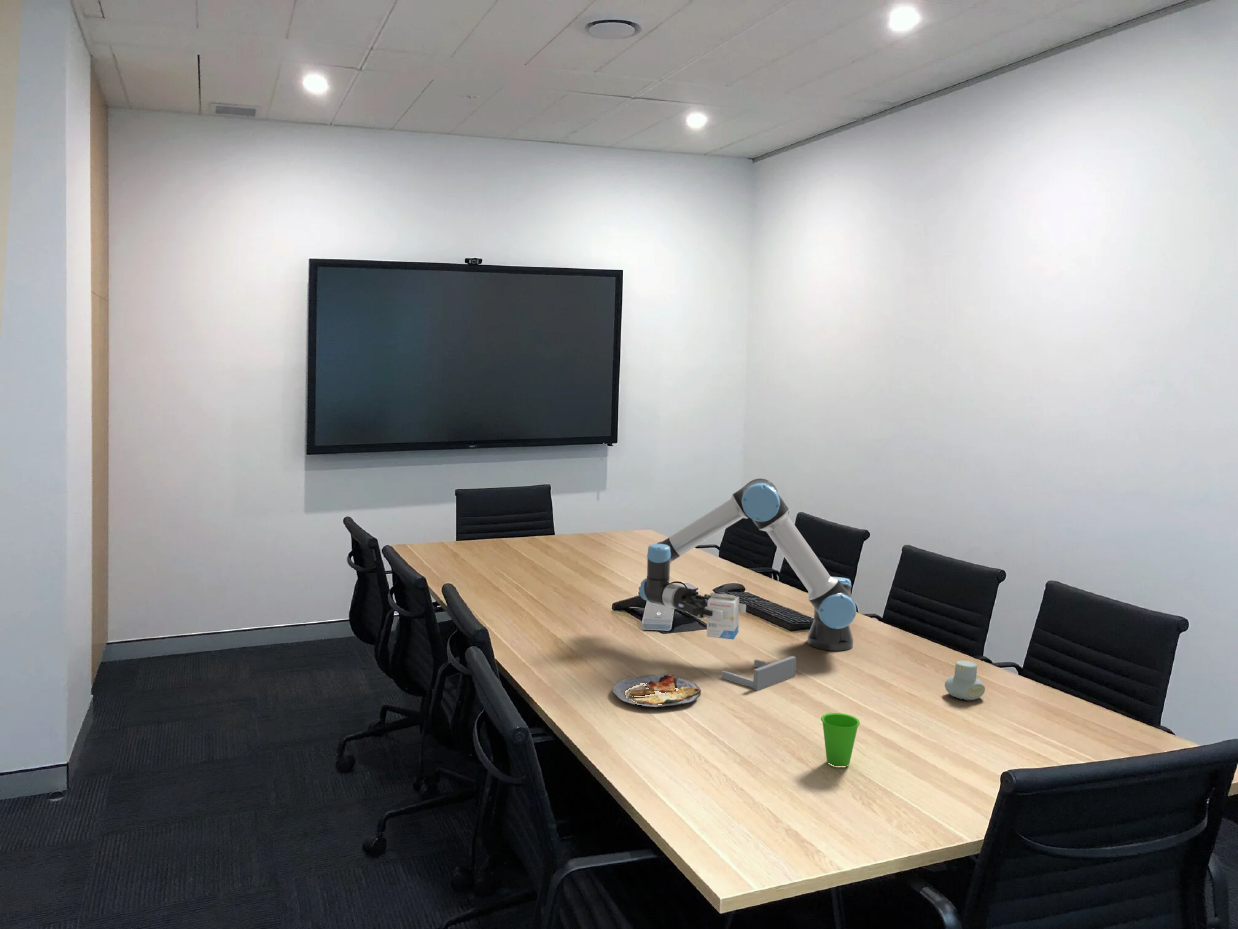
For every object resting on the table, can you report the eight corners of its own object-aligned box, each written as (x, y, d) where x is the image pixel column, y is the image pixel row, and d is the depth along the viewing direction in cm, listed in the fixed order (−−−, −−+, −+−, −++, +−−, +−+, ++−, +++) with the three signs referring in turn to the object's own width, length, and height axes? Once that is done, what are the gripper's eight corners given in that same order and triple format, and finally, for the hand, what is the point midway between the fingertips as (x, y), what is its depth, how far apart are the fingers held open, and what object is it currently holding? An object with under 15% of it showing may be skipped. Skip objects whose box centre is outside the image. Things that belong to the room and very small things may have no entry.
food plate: (679, 677, 287) (680, 666, 286) (715, 705, 265) (715, 693, 265) (601, 688, 278) (601, 677, 277) (631, 718, 256) (631, 706, 256)
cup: (814, 756, 233) (816, 713, 231) (850, 755, 234) (852, 712, 232) (825, 772, 224) (827, 727, 223) (862, 772, 225) (865, 727, 223)
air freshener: (961, 704, 270) (963, 670, 269) (939, 695, 277) (941, 661, 276) (988, 699, 275) (991, 665, 274) (966, 689, 282) (968, 657, 281)
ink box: (739, 632, 300) (740, 591, 298) (733, 640, 292) (735, 597, 290) (712, 629, 303) (713, 588, 301) (705, 636, 295) (707, 594, 293)
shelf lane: (795, 676, 290) (796, 657, 290) (757, 691, 277) (758, 671, 276) (757, 665, 300) (758, 646, 299) (719, 678, 287) (720, 659, 286)
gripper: (702, 603, 317) (756, 617, 302) (655, 615, 301) (709, 631, 286) (703, 581, 317) (757, 594, 301) (655, 592, 300) (710, 606, 285)
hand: (733, 612), depth 293 cm, fingers closed on ink box, 11 cm apart
